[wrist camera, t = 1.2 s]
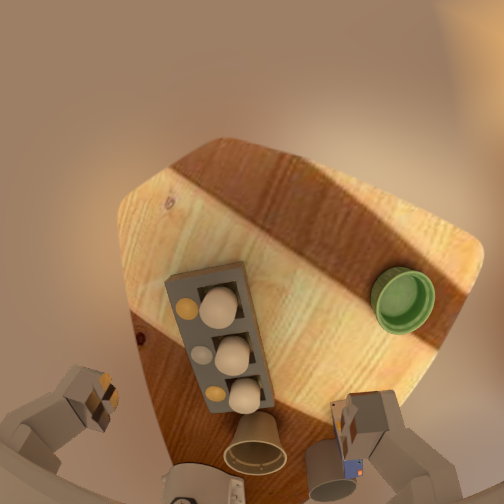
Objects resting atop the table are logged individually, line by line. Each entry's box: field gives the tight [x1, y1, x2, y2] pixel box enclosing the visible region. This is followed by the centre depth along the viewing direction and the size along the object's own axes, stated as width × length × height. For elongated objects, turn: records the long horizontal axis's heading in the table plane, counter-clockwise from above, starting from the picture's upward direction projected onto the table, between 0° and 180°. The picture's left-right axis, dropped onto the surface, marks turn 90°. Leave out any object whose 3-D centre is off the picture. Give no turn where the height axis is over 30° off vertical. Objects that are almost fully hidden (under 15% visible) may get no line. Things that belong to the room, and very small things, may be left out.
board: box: [164, 261, 275, 413], centre depth 40 cm, size 22×10×3 cm, turn 12°
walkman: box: [330, 400, 363, 480], centre depth 38 cm, size 8×3×12 cm, turn 14°
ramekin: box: [370, 267, 435, 335], centre depth 37 cm, size 9×9×4 cm
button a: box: [229, 377, 260, 414], centre depth 39 cm, size 4×4×3 cm
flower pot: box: [224, 411, 287, 475], centre depth 41 cm, size 9×9×9 cm
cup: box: [305, 439, 357, 502], centre depth 41 cm, size 8×8×10 cm
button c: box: [199, 286, 238, 329], centre depth 36 cm, size 4×4×3 cm
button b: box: [215, 336, 250, 376], centre depth 37 cm, size 4×4×3 cm
